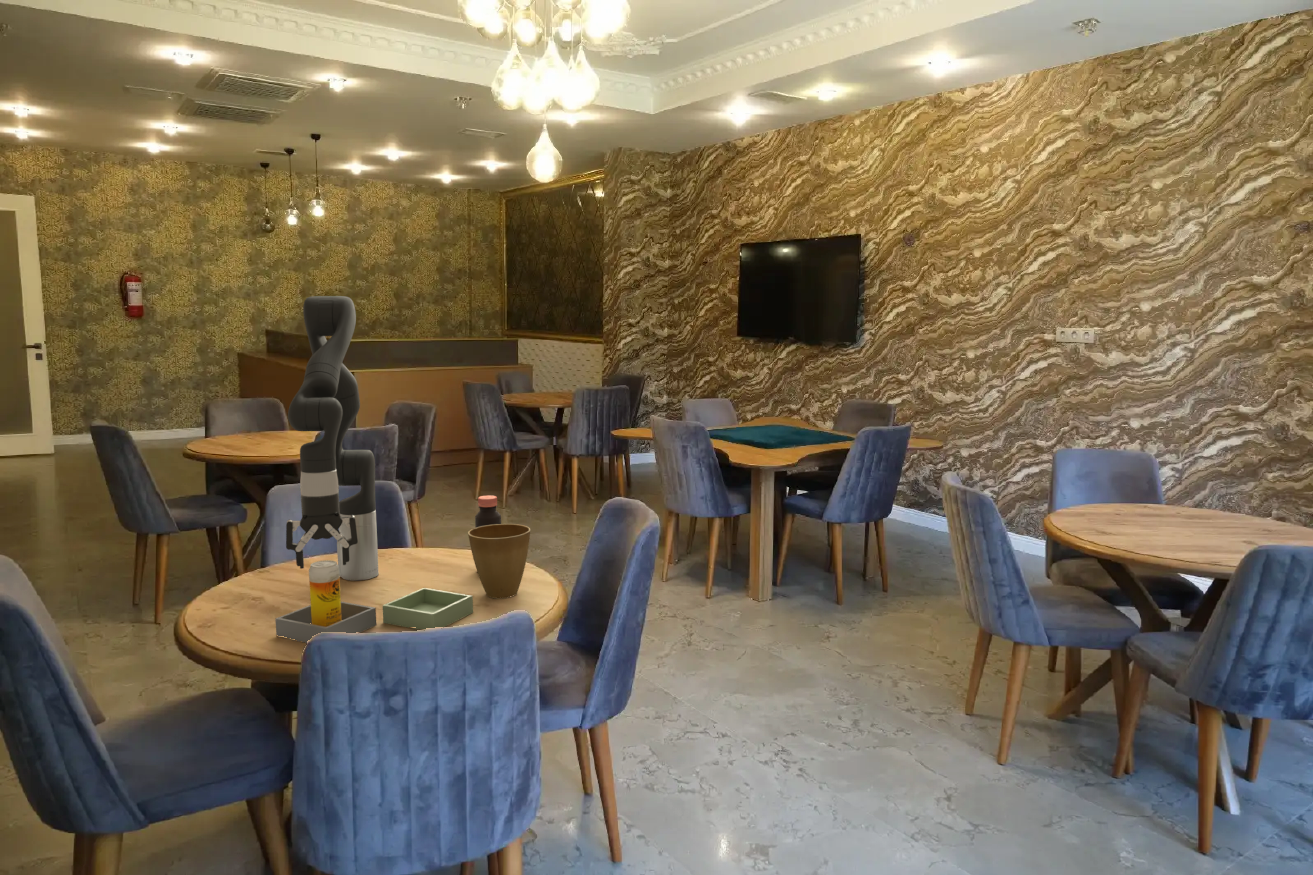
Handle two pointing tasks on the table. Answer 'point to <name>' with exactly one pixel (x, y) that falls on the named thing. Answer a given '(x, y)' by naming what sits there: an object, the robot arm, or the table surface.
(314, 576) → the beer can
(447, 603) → the olive bin
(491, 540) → the plant pot
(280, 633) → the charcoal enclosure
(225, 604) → the table surface
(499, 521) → the bottle
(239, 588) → the table surface
